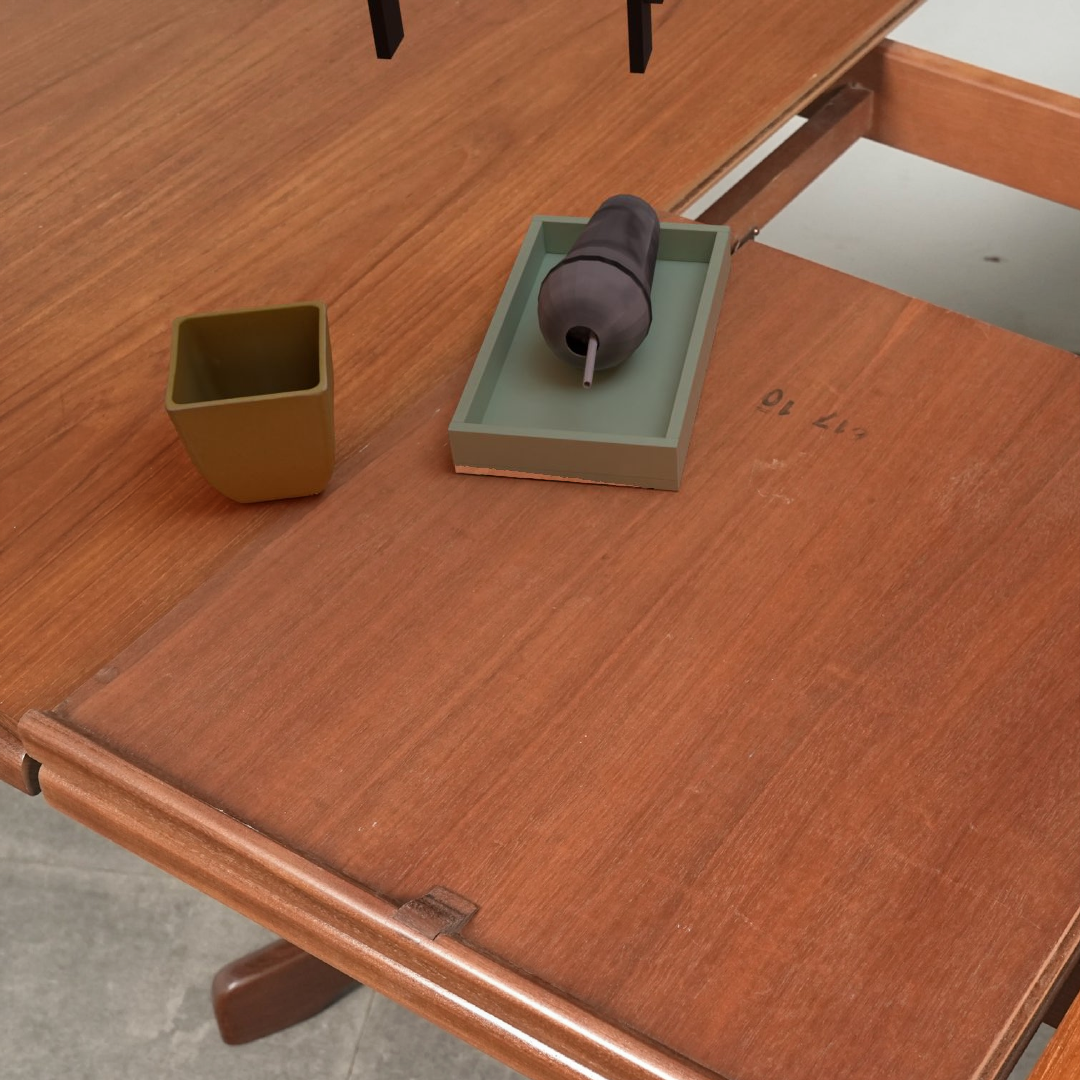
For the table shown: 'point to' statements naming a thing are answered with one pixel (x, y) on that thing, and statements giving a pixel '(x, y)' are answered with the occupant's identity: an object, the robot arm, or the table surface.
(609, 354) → the beverage cup
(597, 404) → the tray
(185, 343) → the flower pot
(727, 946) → the table surface
